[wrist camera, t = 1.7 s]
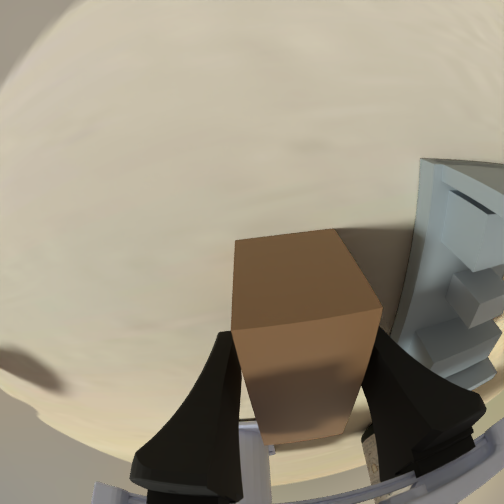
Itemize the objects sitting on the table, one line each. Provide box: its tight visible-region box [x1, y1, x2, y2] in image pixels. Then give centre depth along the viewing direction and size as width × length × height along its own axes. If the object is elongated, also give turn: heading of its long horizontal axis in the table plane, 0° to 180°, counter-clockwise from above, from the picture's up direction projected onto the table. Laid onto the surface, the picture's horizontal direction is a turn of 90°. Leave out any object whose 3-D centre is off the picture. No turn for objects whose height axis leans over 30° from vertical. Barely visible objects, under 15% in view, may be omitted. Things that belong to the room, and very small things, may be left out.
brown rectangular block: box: [231, 229, 383, 446], centre depth 11 cm, size 9×4×5 cm, turn 7°
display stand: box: [390, 158, 504, 391], centre depth 10 cm, size 13×8×5 cm, turn 7°
